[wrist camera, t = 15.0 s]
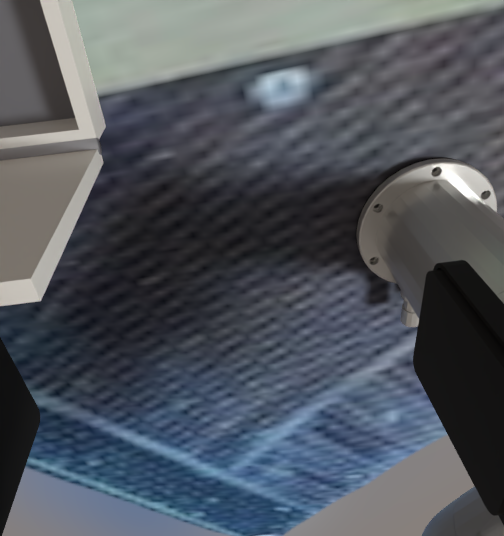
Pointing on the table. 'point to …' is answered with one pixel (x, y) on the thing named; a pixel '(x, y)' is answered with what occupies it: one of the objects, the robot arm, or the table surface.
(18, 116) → the case
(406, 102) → the table surface
